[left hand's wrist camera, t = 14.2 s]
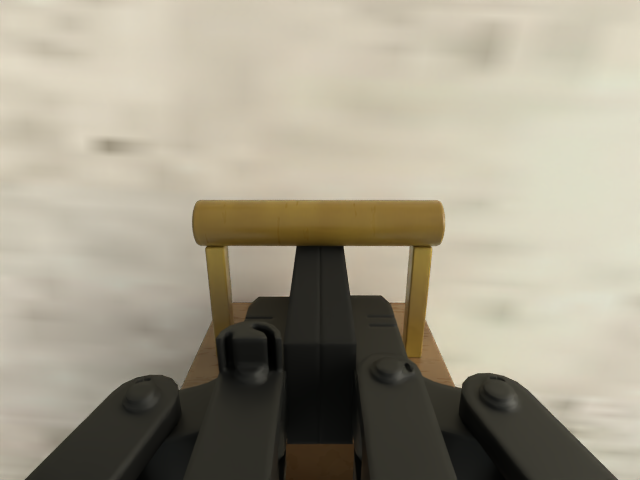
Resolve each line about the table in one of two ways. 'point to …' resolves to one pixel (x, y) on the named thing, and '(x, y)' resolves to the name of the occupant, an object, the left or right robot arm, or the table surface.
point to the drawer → (320, 230)
